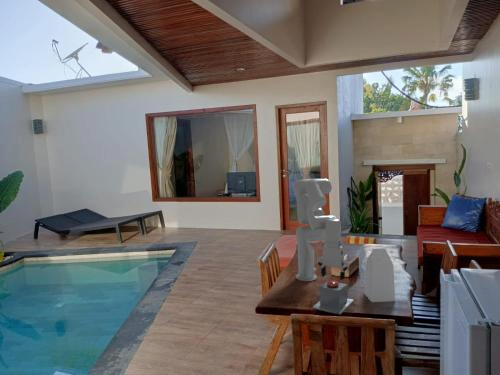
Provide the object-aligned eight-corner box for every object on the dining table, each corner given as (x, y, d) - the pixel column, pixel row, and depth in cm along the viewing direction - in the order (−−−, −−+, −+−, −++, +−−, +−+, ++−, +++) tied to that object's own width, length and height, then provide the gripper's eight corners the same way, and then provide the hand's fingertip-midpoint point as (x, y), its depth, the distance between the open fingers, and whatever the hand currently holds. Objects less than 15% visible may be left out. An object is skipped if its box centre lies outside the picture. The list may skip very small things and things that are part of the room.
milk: (386, 292, 209) (386, 244, 206) (395, 301, 197) (395, 250, 194) (364, 293, 208) (363, 245, 206) (371, 302, 197) (371, 251, 194)
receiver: (328, 296, 206) (327, 277, 205) (353, 301, 198) (353, 282, 197) (312, 308, 192) (312, 288, 191) (340, 314, 184) (339, 294, 183)
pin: (330, 298, 199) (330, 279, 198) (340, 300, 195) (340, 281, 194) (325, 301, 194) (325, 283, 193) (336, 304, 191) (335, 285, 190)
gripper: (352, 244, 190) (352, 278, 192) (319, 239, 200) (320, 271, 202) (346, 248, 184) (346, 283, 186) (313, 243, 194) (313, 276, 196)
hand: (332, 277), depth 194 cm, fingers open, 9 cm apart
